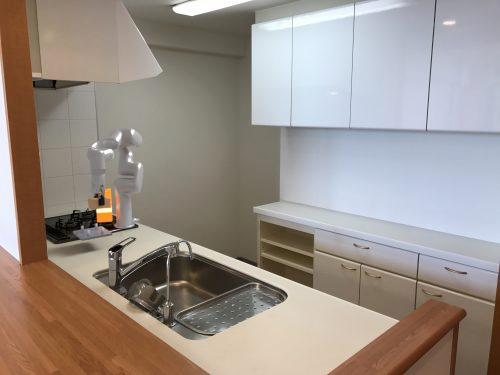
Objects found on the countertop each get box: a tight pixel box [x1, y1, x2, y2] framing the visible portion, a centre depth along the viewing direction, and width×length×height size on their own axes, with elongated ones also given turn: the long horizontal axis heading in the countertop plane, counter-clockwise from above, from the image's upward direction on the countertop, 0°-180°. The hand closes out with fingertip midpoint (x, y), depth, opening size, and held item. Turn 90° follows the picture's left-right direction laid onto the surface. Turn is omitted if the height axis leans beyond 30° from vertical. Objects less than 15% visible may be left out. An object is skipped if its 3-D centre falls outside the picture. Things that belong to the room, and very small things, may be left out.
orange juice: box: [96, 188, 113, 223], centre depth 256 cm, size 8×9×20 cm
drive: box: [87, 197, 111, 211], centre depth 227 cm, size 10×6×5 cm, turn 130°
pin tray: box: [72, 222, 113, 242], centre depth 226 cm, size 16×16×4 cm
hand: (99, 204), depth 227 cm, fingers closed on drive, 6 cm apart
